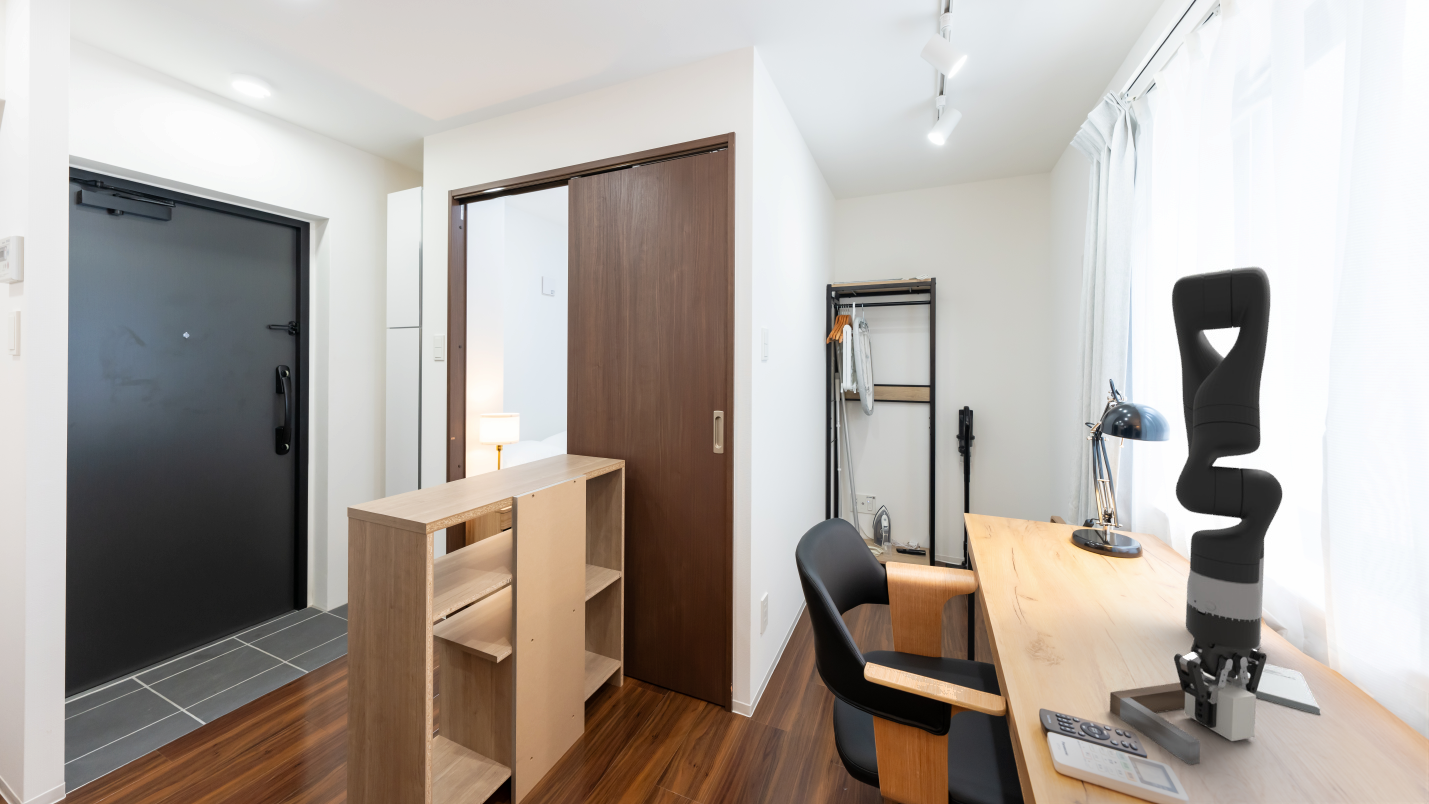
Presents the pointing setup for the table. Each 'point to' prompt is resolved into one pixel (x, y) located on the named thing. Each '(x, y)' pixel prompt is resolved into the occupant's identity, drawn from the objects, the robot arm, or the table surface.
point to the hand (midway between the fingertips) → (1218, 721)
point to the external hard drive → (1286, 688)
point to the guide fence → (1156, 717)
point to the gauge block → (1230, 711)
